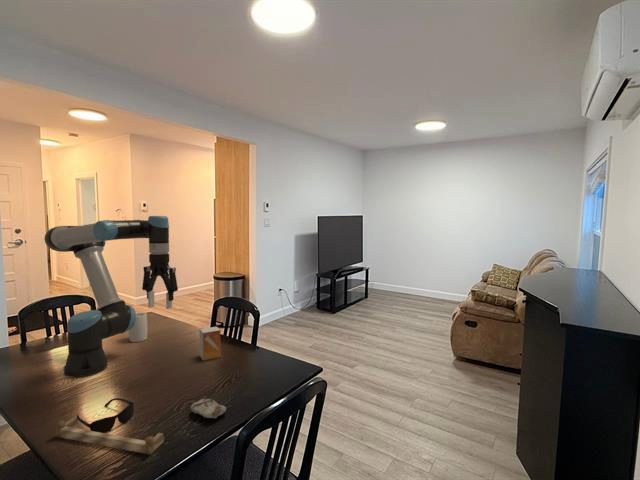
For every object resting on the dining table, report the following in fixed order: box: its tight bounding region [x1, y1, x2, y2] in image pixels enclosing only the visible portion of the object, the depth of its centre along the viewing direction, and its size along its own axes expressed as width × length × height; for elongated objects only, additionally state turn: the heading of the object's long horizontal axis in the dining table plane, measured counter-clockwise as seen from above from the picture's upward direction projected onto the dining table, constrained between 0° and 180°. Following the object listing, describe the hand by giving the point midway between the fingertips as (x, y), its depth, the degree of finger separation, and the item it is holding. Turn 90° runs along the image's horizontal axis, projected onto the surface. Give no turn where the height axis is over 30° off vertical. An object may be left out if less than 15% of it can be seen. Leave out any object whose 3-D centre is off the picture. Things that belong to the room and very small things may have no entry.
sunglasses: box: [76, 397, 135, 434], centre depth 109 cm, size 14×16×5 cm
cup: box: [128, 312, 148, 343], centre depth 176 cm, size 8×8×14 cm
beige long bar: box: [56, 417, 165, 456], centre depth 100 cm, size 32×6×4 cm, turn 77°
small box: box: [199, 326, 221, 362], centre depth 159 cm, size 8×6×13 cm
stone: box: [190, 397, 227, 419], centre depth 113 cm, size 12×9×3 cm
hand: (160, 307), depth 142 cm, fingers open, 8 cm apart
